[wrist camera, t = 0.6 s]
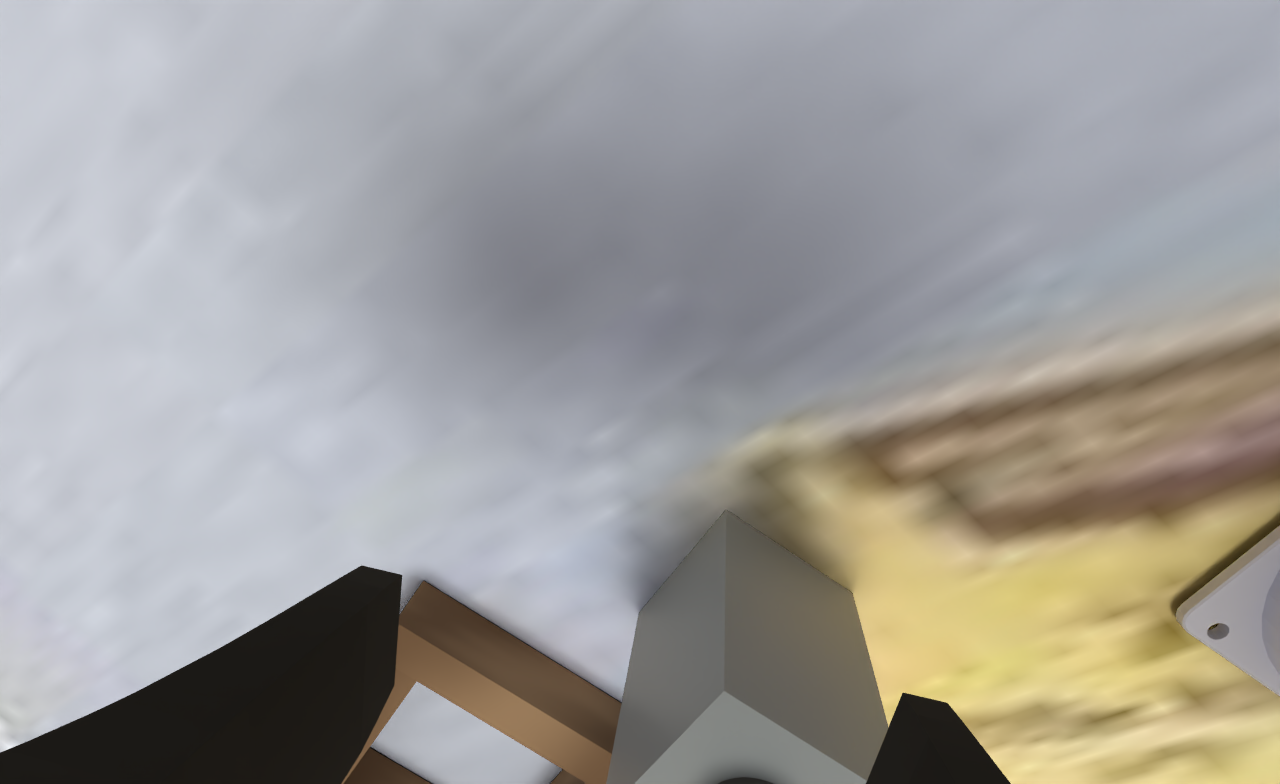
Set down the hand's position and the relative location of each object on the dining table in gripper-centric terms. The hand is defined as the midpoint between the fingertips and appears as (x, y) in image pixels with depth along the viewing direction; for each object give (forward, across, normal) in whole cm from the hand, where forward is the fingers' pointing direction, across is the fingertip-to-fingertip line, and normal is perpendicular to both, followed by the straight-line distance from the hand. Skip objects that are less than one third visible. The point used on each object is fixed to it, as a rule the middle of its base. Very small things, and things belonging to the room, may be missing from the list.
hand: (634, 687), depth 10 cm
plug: (+10, -3, +5) cm, 12 cm away
